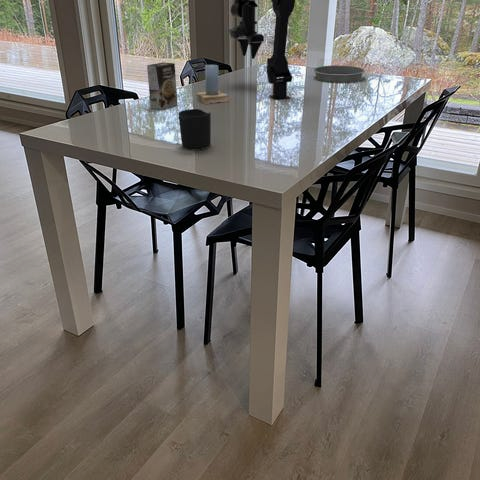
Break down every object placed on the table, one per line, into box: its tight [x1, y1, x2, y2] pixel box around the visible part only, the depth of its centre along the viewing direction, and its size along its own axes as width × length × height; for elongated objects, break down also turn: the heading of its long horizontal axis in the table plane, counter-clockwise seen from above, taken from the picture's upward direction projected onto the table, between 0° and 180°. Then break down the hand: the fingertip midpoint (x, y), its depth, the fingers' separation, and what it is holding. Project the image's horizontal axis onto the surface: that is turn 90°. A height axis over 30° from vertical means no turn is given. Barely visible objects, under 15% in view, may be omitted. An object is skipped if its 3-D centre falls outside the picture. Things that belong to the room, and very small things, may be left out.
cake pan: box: [313, 64, 366, 84], centre depth 235 cm, size 25×25×4 cm
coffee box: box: [146, 61, 178, 111], centre depth 186 cm, size 9×6×16 cm
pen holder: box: [178, 108, 212, 150], centre depth 145 cm, size 9×9×10 cm
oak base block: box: [196, 90, 229, 105], centre depth 198 cm, size 10×10×2 cm
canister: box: [204, 64, 220, 95], centre depth 195 cm, size 5×5×11 cm
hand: (248, 57), depth 214 cm, fingers open, 9 cm apart
